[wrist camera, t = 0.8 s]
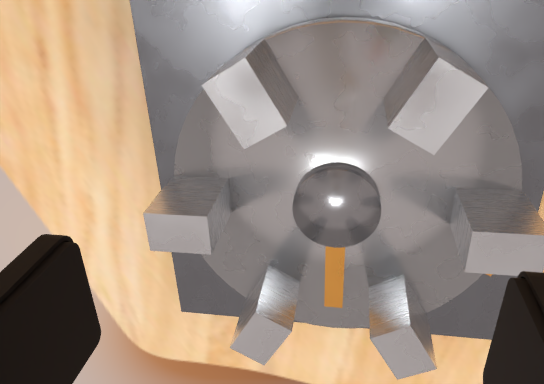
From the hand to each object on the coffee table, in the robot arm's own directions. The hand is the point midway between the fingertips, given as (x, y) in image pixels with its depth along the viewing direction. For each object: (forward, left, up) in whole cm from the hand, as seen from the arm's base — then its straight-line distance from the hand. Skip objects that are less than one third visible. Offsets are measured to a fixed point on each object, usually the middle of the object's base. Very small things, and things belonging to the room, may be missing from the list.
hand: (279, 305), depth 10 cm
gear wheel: (+6, +1, -18) cm, 20 cm away
